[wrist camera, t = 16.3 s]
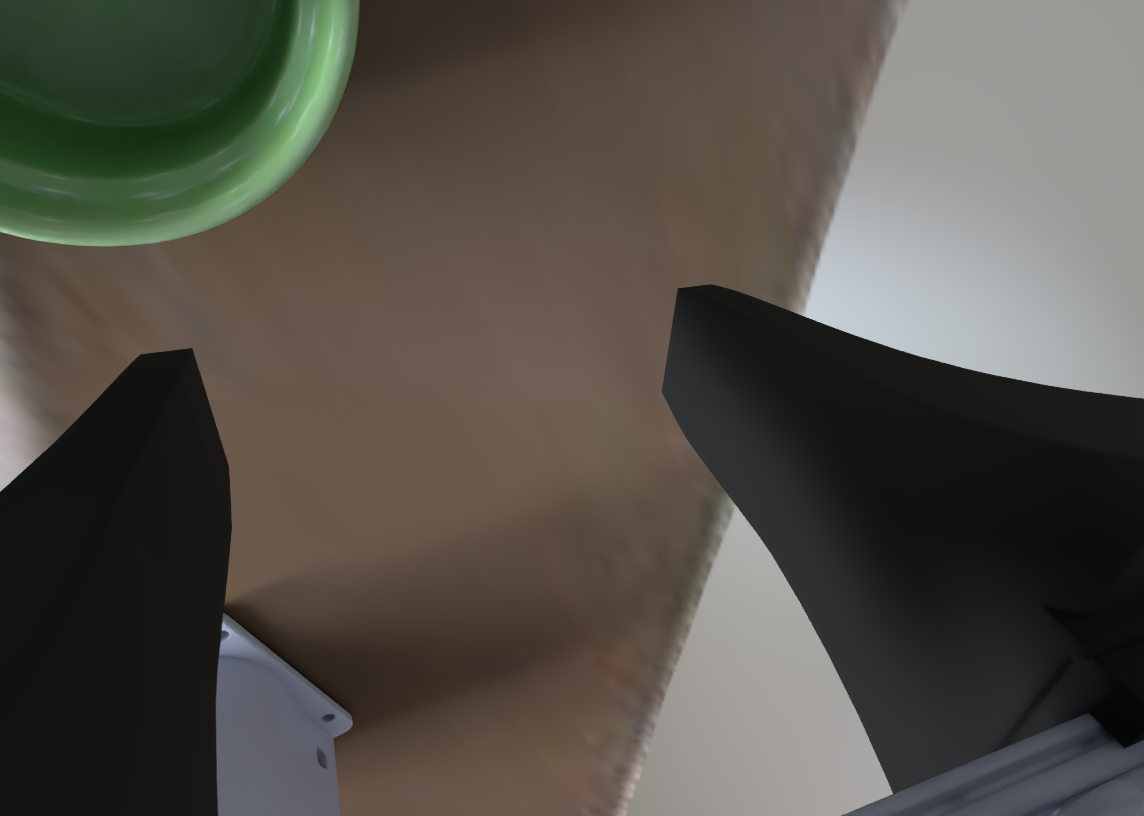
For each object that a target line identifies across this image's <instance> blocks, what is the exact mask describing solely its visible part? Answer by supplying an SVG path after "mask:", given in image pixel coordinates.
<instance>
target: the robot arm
mask: <svg viewBox="0 0 1144 816" xmlns="http://www.w3.org/2000/svg"><path fill="white" fill-rule="evenodd" d="M662 393H663V395H664V397H665V399H666V401H667V403H668V405H669V407H670V409H671V411H672V413H673V415H674V417H675V419H676V421H677V422H678V424H679V426H680V428H681V429H682V431H683V433H684V435H685V437H686V438H687V440H688V441H689V443H690V444H691V445H692V447H693V448H694V450H695V451H696V452H697V454H698V455H699V456H700V458H701V459H702V460H703V462H704V463H705V465H706V466H707V467H708V469H709V470H710V471H711V473H712V474H713V475H714V477H715V478H716V479H717V481H718V482H719V483H720V485H721V486H722V487H723V489H724V490H725V491H726V493H727V494H728V495H729V497H730V498H731V499H732V501H733V502H734V503H735V505H736V506H737V507H738V508H739V510H740V511H741V512H742V514H743V515H744V516H745V518H746V519H747V520H748V522H749V523H750V524H751V526H752V527H753V528H754V530H755V531H756V532H757V534H758V535H759V536H760V538H761V540H762V541H763V542H764V544H765V545H766V547H767V548H768V550H769V551H770V552H771V554H772V556H773V557H774V559H775V561H776V562H777V564H778V566H779V568H780V569H781V571H782V573H783V574H784V576H785V577H786V579H787V581H788V583H789V584H790V586H791V588H792V589H793V591H794V593H795V595H796V596H797V598H798V600H799V601H800V603H801V605H802V607H803V609H804V610H805V612H806V614H807V616H808V618H809V620H810V621H811V623H812V625H813V627H814V629H815V631H816V633H817V634H818V636H819V638H820V640H821V642H822V644H823V645H824V647H825V649H826V651H827V653H828V654H829V657H830V659H831V661H832V663H833V665H834V667H835V669H836V671H837V673H838V675H839V677H840V678H841V681H842V683H843V685H844V687H845V689H846V691H847V693H848V695H849V697H850V699H851V701H852V703H853V705H854V707H855V709H856V711H857V713H858V715H859V717H860V719H861V722H862V724H863V726H864V728H865V731H866V733H867V735H868V737H869V740H870V742H871V744H872V746H873V749H874V751H875V753H876V755H877V758H878V760H879V762H880V764H881V767H882V768H883V771H884V773H885V776H886V778H887V780H888V782H889V785H890V787H891V790H892V792H893V794H892V795H890V796H888V797H885V798H883V799H881V800H878V801H876V802H873V803H871V804H868V805H866V806H863V807H861V808H859V809H856V810H854V811H852V812H849V813H847V814H844V815H842V816H1144V399H1142V398H1133V397H1125V396H1117V395H1110V394H1102V393H1094V392H1086V391H1079V390H1073V389H1067V388H1060V387H1054V386H1048V385H1042V384H1037V383H1032V382H1027V381H1022V380H1016V379H1011V378H1006V377H1001V376H996V375H991V374H987V373H982V372H978V371H973V370H969V369H965V368H961V367H957V366H954V365H950V364H946V363H942V362H939V361H935V360H931V359H927V358H923V357H919V356H916V355H913V354H910V353H906V352H903V351H900V350H897V349H893V348H890V347H888V346H884V345H882V344H878V343H876V342H873V341H870V340H867V339H864V338H860V337H858V336H855V335H852V334H849V333H847V332H844V331H841V330H838V329H836V328H833V327H830V326H828V325H825V324H822V323H820V322H817V321H814V320H812V319H809V318H807V317H804V316H801V315H799V314H796V313H794V312H791V311H789V310H786V309H783V308H781V307H778V306H776V305H773V304H770V303H768V302H765V301H763V300H760V299H757V298H754V297H752V296H749V295H746V294H743V293H740V292H737V291H734V290H731V289H727V288H724V287H720V286H716V285H711V284H710V285H701V286H693V287H685V288H678V291H677V298H676V304H675V310H674V317H673V323H672V330H671V336H670V343H669V349H668V355H667V362H666V368H665V375H664V381H663V388H662ZM231 531H232V521H231V496H230V479H229V465H228V462H227V459H226V456H225V453H224V449H223V446H222V443H221V440H220V436H219V433H218V430H217V427H216V423H215V420H214V417H213V414H212V411H211V407H210V404H209V401H208V398H207V394H206V391H205V388H204V385H203V381H202V378H201V375H200V372H199V369H198V365H197V362H196V359H195V356H194V352H193V349H192V348H190V349H181V350H173V351H165V352H157V353H149V354H141V355H139V356H138V357H137V358H136V359H135V360H134V361H133V362H132V363H131V364H130V365H129V366H128V367H127V368H126V369H125V370H124V371H123V372H122V373H121V374H120V375H119V376H118V378H117V379H116V380H115V381H114V382H113V383H112V384H111V385H110V386H109V387H108V388H107V389H106V390H105V391H104V392H103V393H102V395H101V396H100V397H99V398H98V399H97V400H96V401H95V402H94V403H93V404H92V405H91V406H90V407H89V408H88V409H87V410H86V411H85V412H84V413H83V414H82V415H81V416H80V417H79V418H78V419H77V420H76V421H75V422H74V423H73V424H72V425H71V426H70V427H69V428H68V429H67V430H66V431H65V432H64V433H63V435H62V436H61V437H60V438H59V439H58V440H57V441H56V442H54V443H53V444H52V445H51V446H50V447H49V448H48V449H47V450H46V451H45V452H44V453H42V454H41V455H40V456H39V457H38V458H37V459H36V460H35V461H34V462H33V463H32V464H30V465H29V466H28V467H27V468H26V469H25V470H24V471H23V472H22V473H21V474H19V475H18V476H17V477H16V478H15V479H14V480H13V481H12V482H11V483H10V484H8V485H7V486H6V487H5V488H4V489H3V490H2V491H1V492H0V816H341V814H340V804H339V793H338V783H337V773H336V762H335V752H334V741H333V738H335V737H337V736H339V735H341V734H343V733H345V732H346V731H348V730H349V729H350V728H351V727H352V724H353V722H352V716H351V715H350V714H349V713H348V712H347V711H346V710H344V709H343V708H342V707H341V706H339V705H338V704H337V703H336V702H334V701H333V700H332V699H331V698H329V697H328V696H327V695H326V694H324V693H323V692H322V691H321V690H319V689H318V688H317V687H316V686H315V685H313V684H312V683H311V682H310V681H308V680H307V679H306V678H305V677H303V676H302V675H301V674H300V673H298V672H297V671H296V670H295V669H293V668H292V667H291V666H290V665H289V664H287V663H286V662H285V661H284V660H282V659H281V658H280V657H279V656H277V655H276V654H275V653H274V652H272V651H271V650H270V649H269V648H267V647H266V646H265V645H264V644H262V643H261V642H260V641H259V640H258V639H256V638H255V637H254V636H253V635H251V634H250V633H249V632H248V631H246V630H245V629H244V628H243V627H241V626H240V625H239V624H238V623H236V622H235V621H234V620H233V619H232V618H230V617H229V616H228V615H227V614H225V613H224V603H225V593H226V584H227V574H228V563H229V553H230V542H231ZM222 631H223V632H222Z"/></svg>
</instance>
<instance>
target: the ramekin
mask: <svg viewBox="0 0 1144 816" xmlns="http://www.w3.org/2000/svg"><path fill="white" fill-rule="evenodd" d="M358 24H359V0H0V232H2V233H7V234H11V235H15V236H19V237H23V238H27V239H33V240H39V241H45V242H53V243H61V244H70V245H80V246H126V245H139V244H150V243H158V242H163V241H168V240H173V239H177V238H181V237H185V236H189V235H193V234H196V233H200V232H203V231H205V230H208V229H211V228H214V227H216V226H218V225H221V224H224V223H226V222H228V221H230V220H231V219H233V218H235V217H237V216H240V215H242V214H244V213H245V212H247V211H248V210H250V209H252V208H253V207H255V206H256V205H258V204H260V203H261V202H262V201H264V200H265V199H266V198H268V197H269V196H270V195H272V194H273V193H274V192H276V191H277V190H278V189H279V188H280V187H282V186H283V185H284V184H285V183H286V182H287V181H288V180H289V179H290V178H291V177H292V176H293V175H294V174H295V173H296V172H297V171H298V170H299V169H300V168H301V166H302V165H303V164H304V163H305V161H306V160H307V159H308V157H309V156H310V155H311V154H312V152H313V151H314V150H315V148H316V147H317V146H318V144H319V142H320V141H321V139H322V137H323V136H324V134H325V132H326V131H327V129H328V127H329V125H330V123H331V122H332V120H333V118H334V116H335V113H336V111H337V109H338V106H339V104H340V102H341V99H342V96H343V93H344V91H345V88H346V85H347V82H348V78H349V75H350V71H351V67H352V64H353V60H354V55H355V50H356V43H357V34H358Z"/></svg>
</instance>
